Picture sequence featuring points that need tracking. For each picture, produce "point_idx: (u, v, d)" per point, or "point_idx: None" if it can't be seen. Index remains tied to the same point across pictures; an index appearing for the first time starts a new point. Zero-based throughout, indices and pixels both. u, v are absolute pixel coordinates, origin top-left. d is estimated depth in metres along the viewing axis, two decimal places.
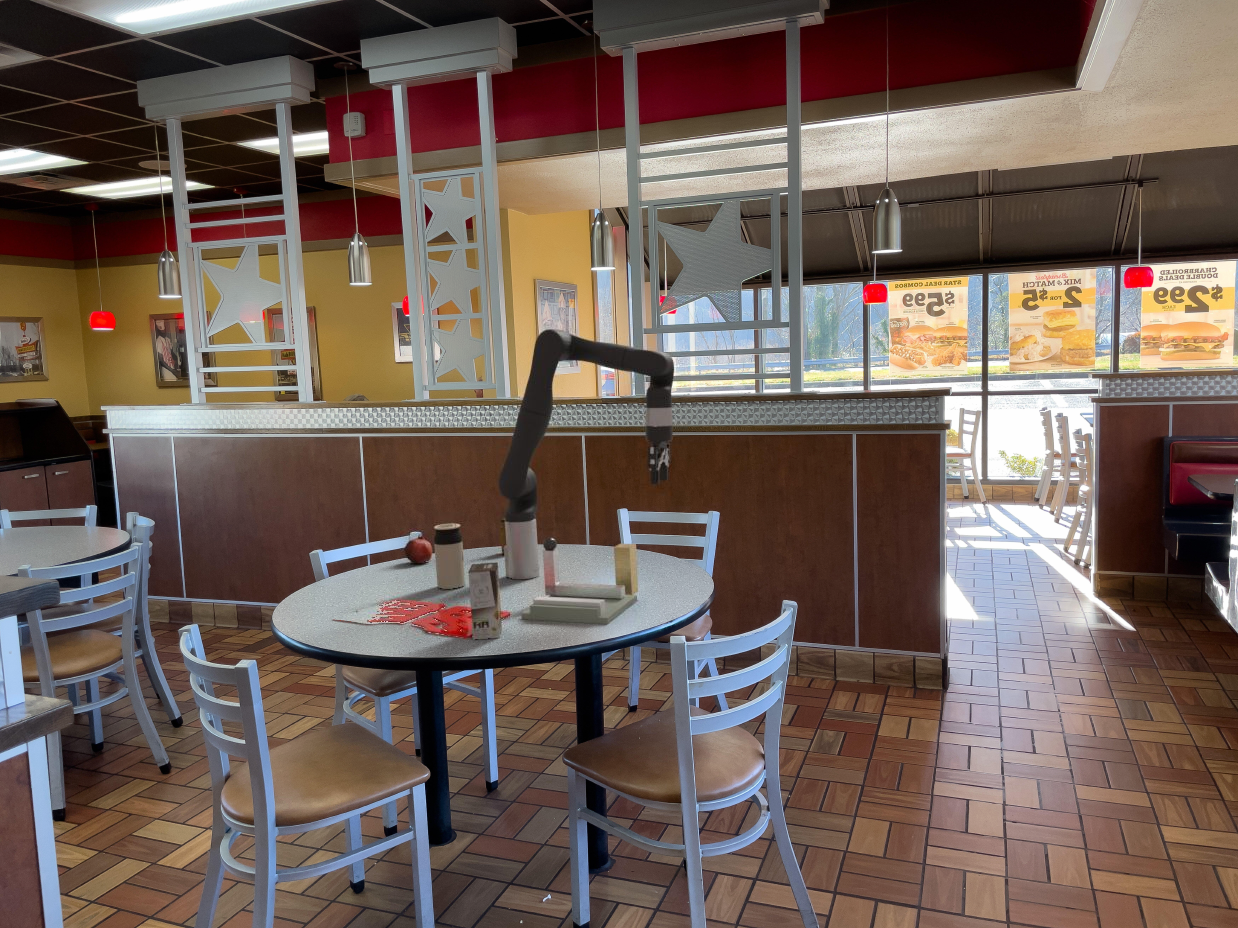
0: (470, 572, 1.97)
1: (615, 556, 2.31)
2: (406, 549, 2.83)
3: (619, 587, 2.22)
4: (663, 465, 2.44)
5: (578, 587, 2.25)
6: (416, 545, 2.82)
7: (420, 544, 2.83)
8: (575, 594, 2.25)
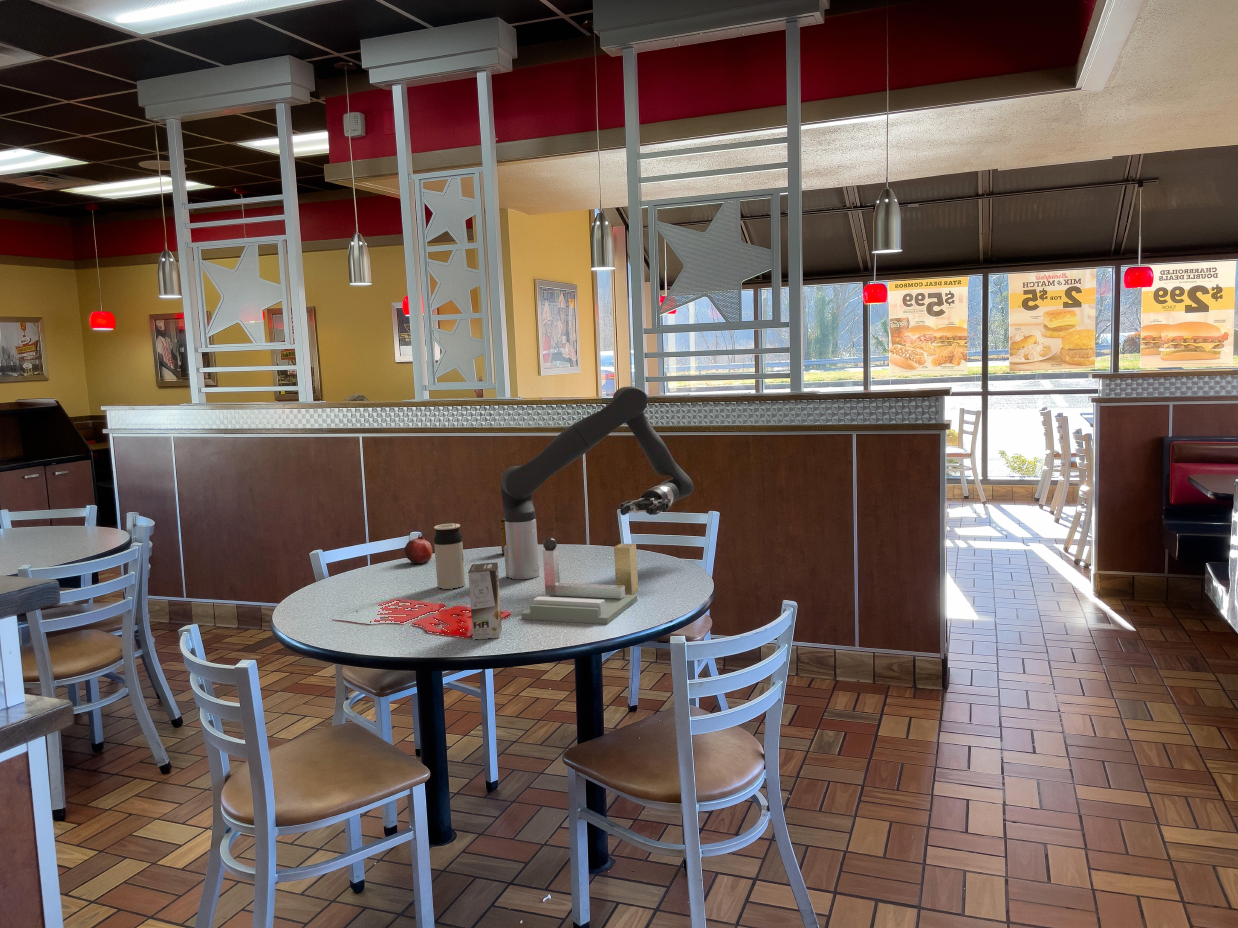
0: (470, 572, 1.97)
1: (615, 556, 2.31)
2: (406, 549, 2.83)
3: (619, 587, 2.22)
4: (628, 508, 2.47)
5: (578, 587, 2.25)
6: (416, 545, 2.82)
7: (420, 544, 2.83)
8: (575, 594, 2.25)
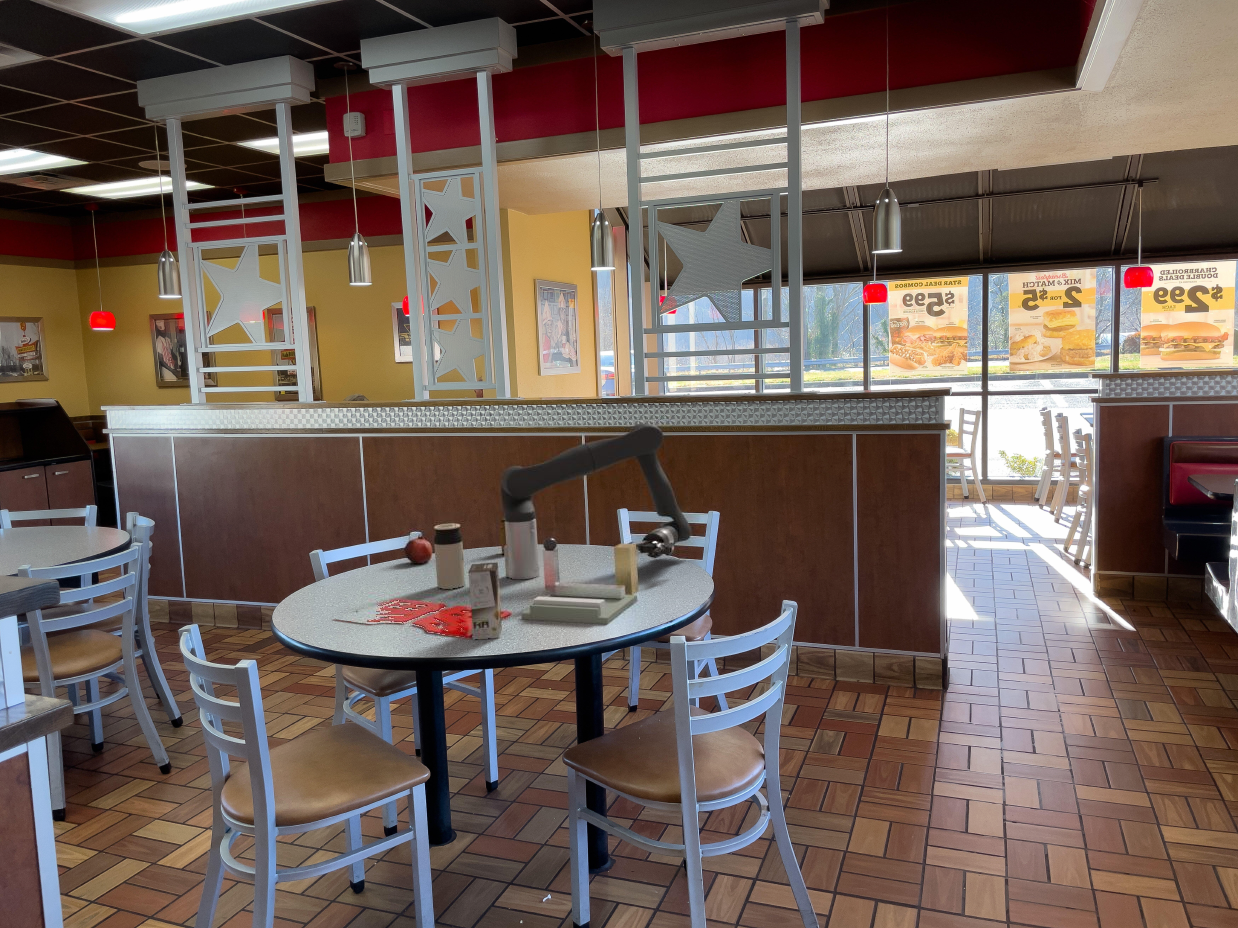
0: (470, 572, 1.97)
1: (615, 556, 2.31)
2: (406, 549, 2.83)
3: (619, 587, 2.22)
4: None
5: (578, 587, 2.25)
6: (416, 545, 2.82)
7: (420, 544, 2.83)
8: (575, 594, 2.25)
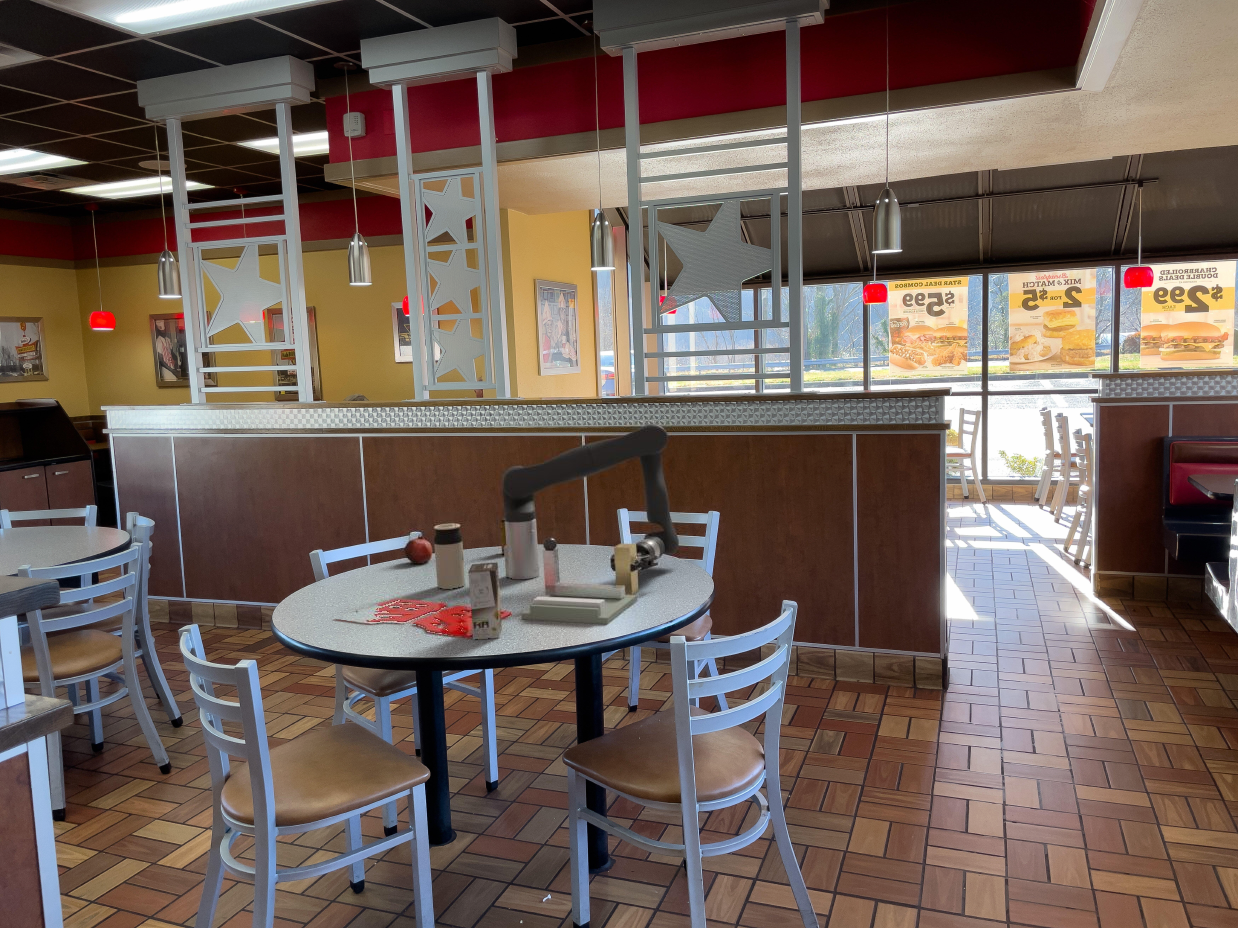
0: (470, 572, 1.97)
1: (615, 556, 2.31)
2: (406, 549, 2.83)
3: (619, 587, 2.22)
4: None
5: (578, 587, 2.25)
6: (416, 545, 2.82)
7: (420, 544, 2.83)
8: (575, 594, 2.25)
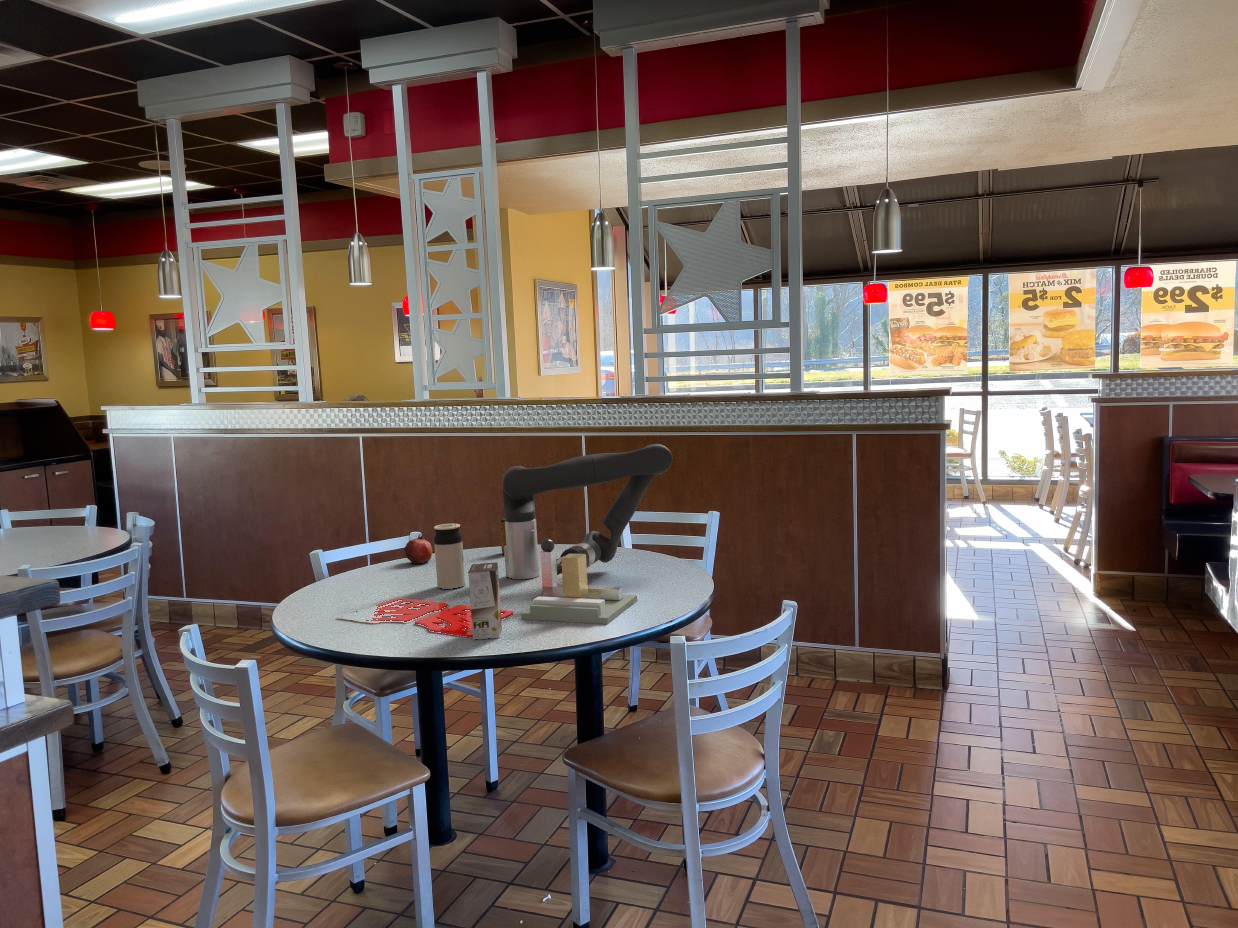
0: (470, 572, 1.97)
1: (563, 567, 2.14)
2: (406, 549, 2.83)
3: (617, 588, 2.20)
4: None
5: None
6: (416, 545, 2.82)
7: (420, 544, 2.83)
8: None
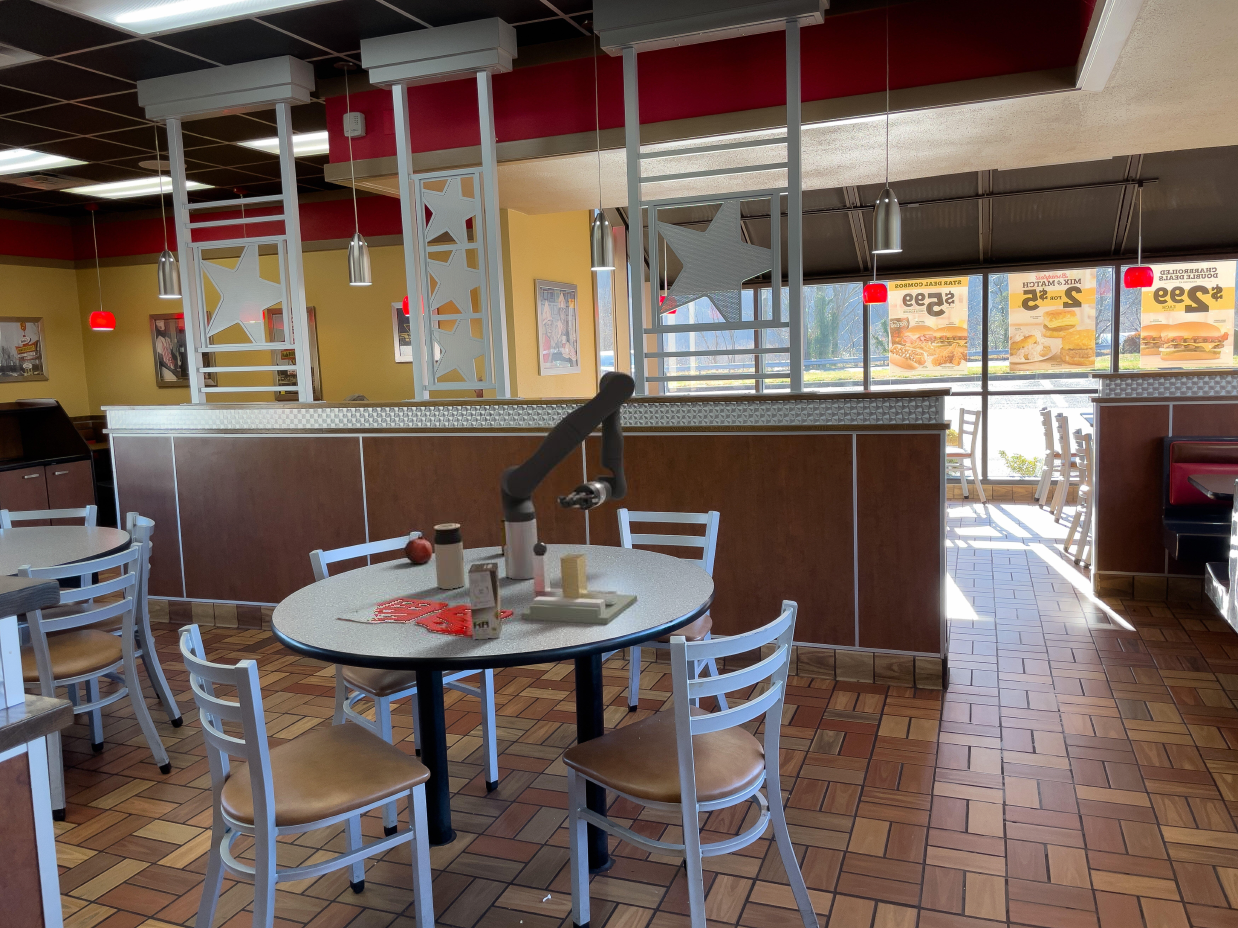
0: (470, 572, 1.97)
1: (562, 568, 2.14)
2: (406, 549, 2.83)
3: (611, 593, 2.16)
4: None
5: None
6: (416, 545, 2.82)
7: (420, 544, 2.83)
8: None
